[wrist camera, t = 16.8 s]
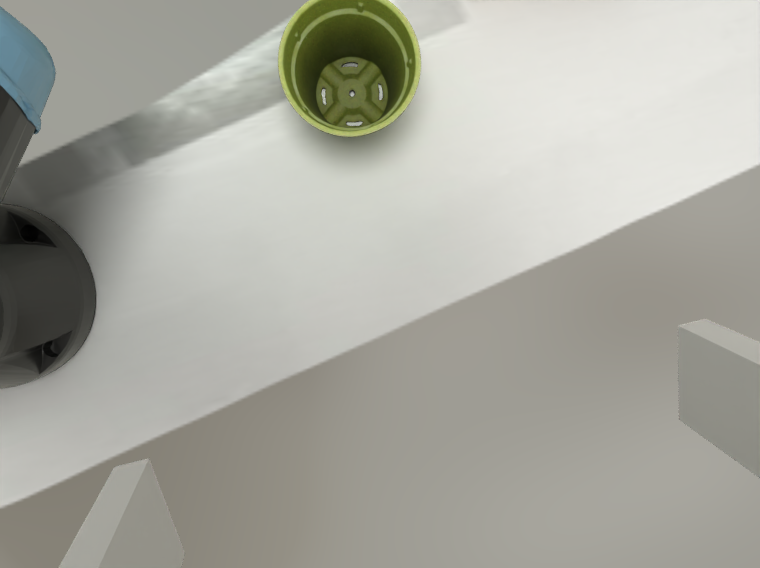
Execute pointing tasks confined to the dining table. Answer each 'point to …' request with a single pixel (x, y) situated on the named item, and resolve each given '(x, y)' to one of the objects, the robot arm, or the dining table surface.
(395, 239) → the dining table surface
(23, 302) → the robot arm
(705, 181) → the dining table surface
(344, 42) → the plant pot
